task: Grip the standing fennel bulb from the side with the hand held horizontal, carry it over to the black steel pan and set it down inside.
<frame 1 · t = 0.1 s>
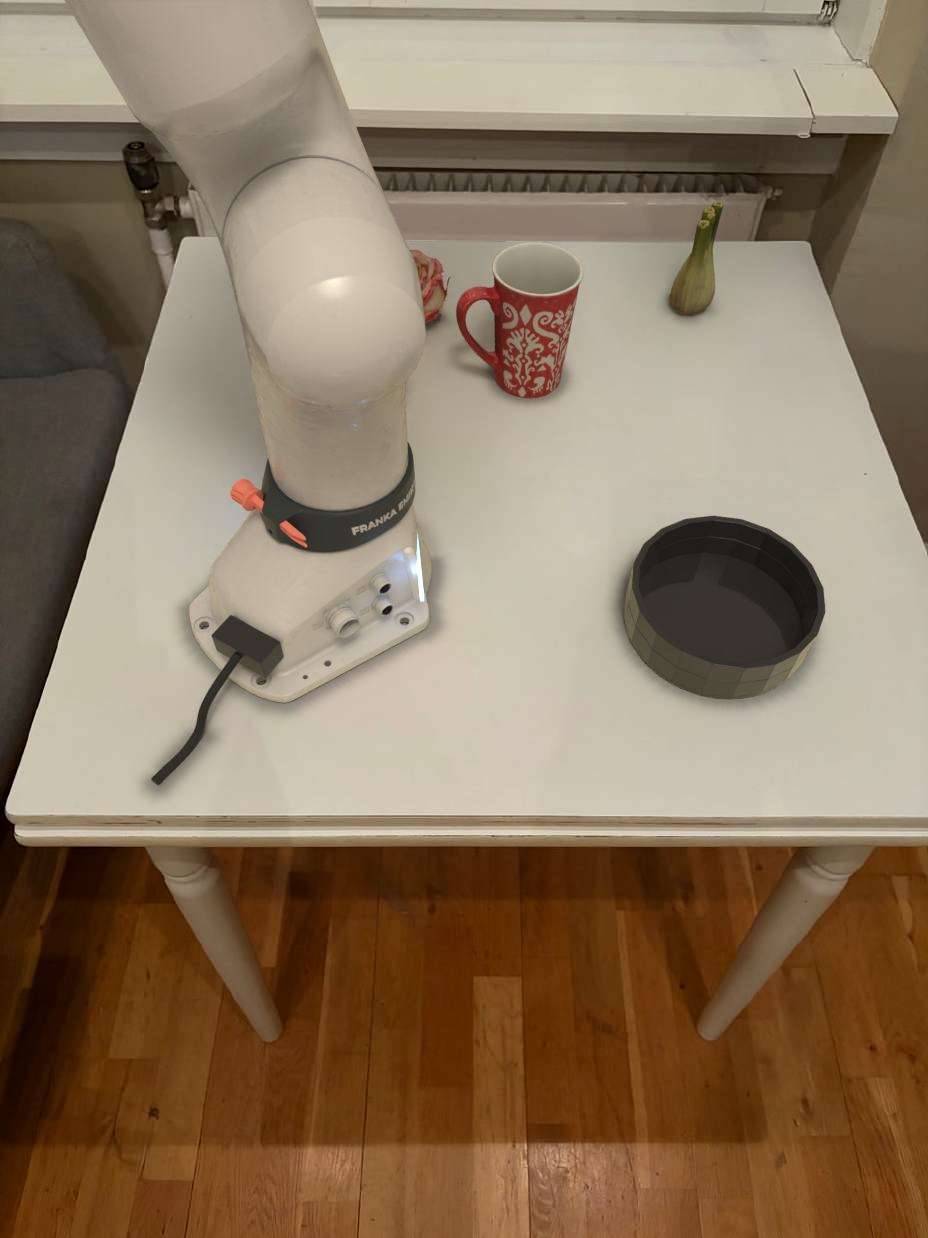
flower: (410, 327, 108), on the table, touching food
food: (372, 411, 100), on the table, touching flower
pan: (714, 621, 85), on the table
mug: (512, 379, 103), on the table
fennel bulb: (689, 308, 111), on the table
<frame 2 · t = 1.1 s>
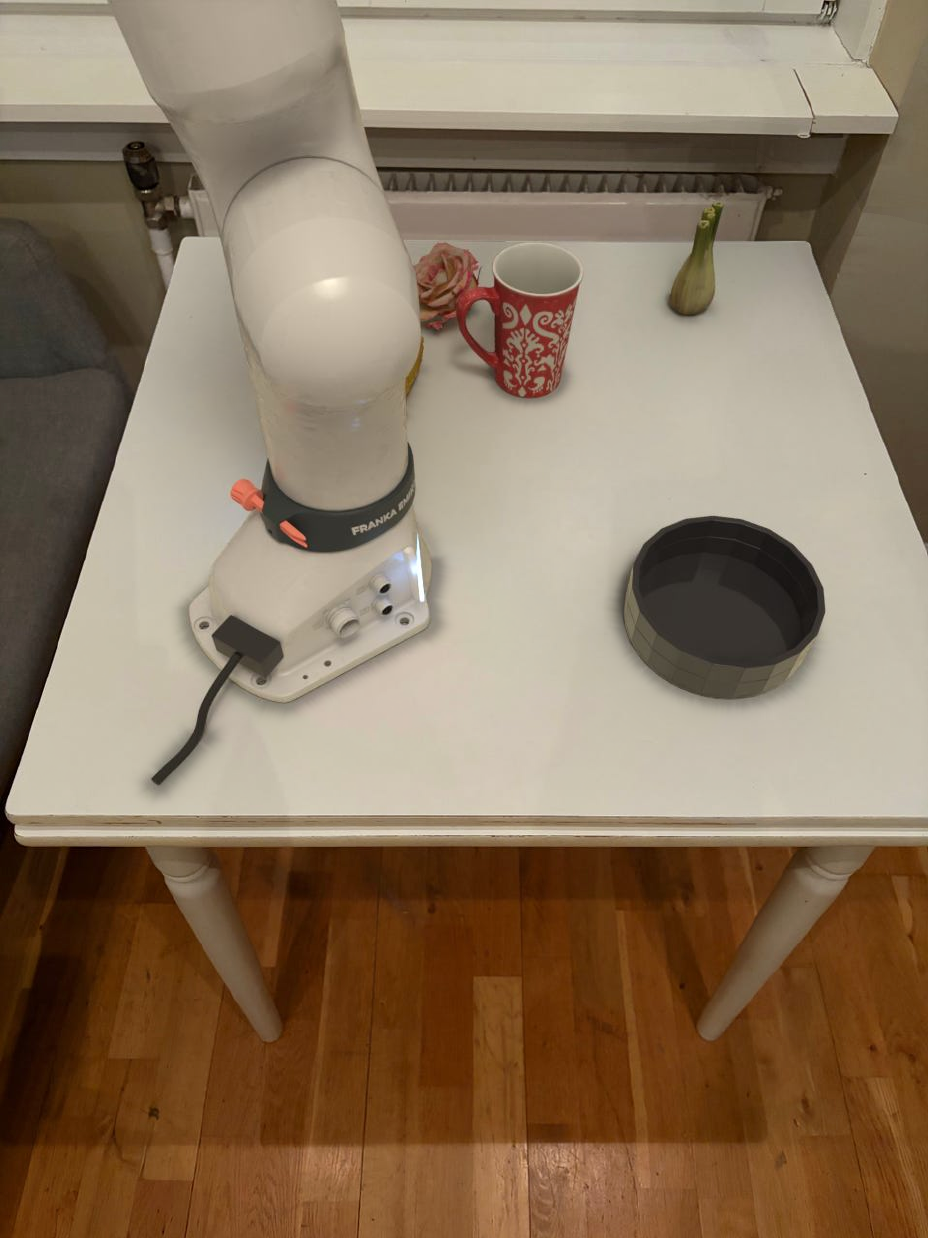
flower: (442, 319, 109), on the table
food: (379, 417, 100), on the table
everything else where it was.
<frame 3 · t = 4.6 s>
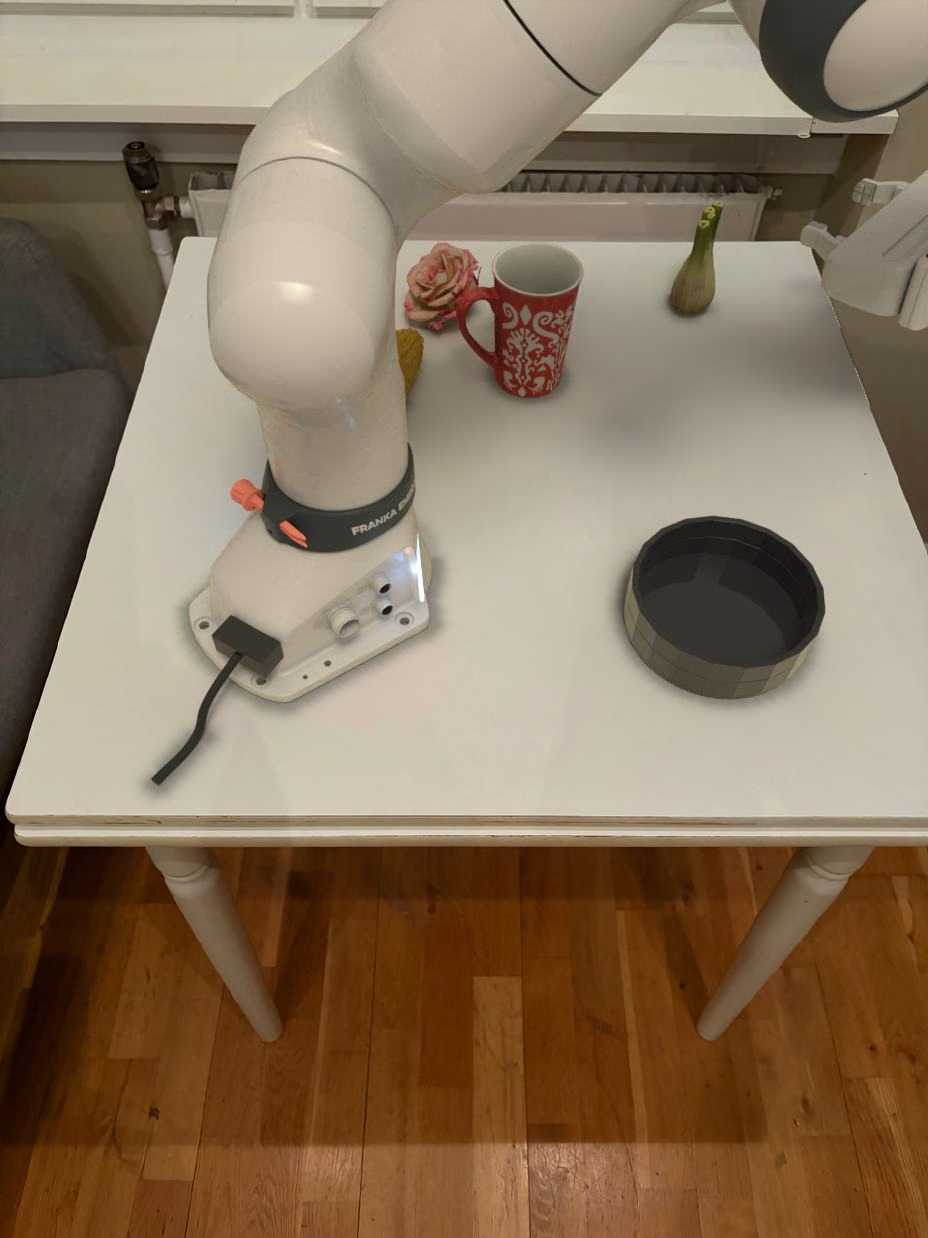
hand: (831, 209, 91), 18 cm above the table, tool horizontal, fingers open, 8 cm apart
nothing on the table moved.
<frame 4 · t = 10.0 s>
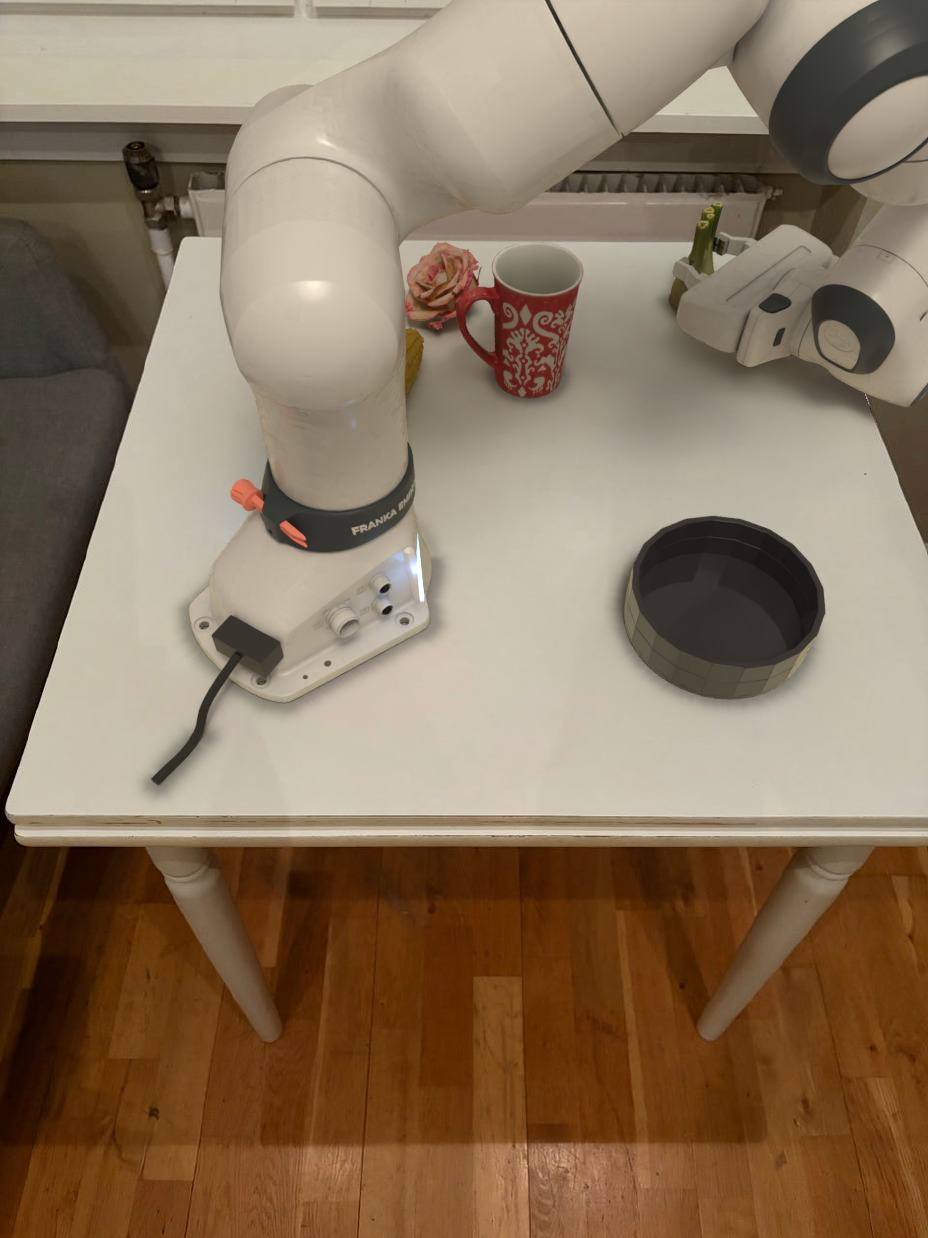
hand: (695, 252, 106), 7 cm above the table, tool horizontal, fingers closed on fennel bulb, 5 cm apart
fennel bulb: (689, 308, 111), on the table, touching gripper
everything else where it was.
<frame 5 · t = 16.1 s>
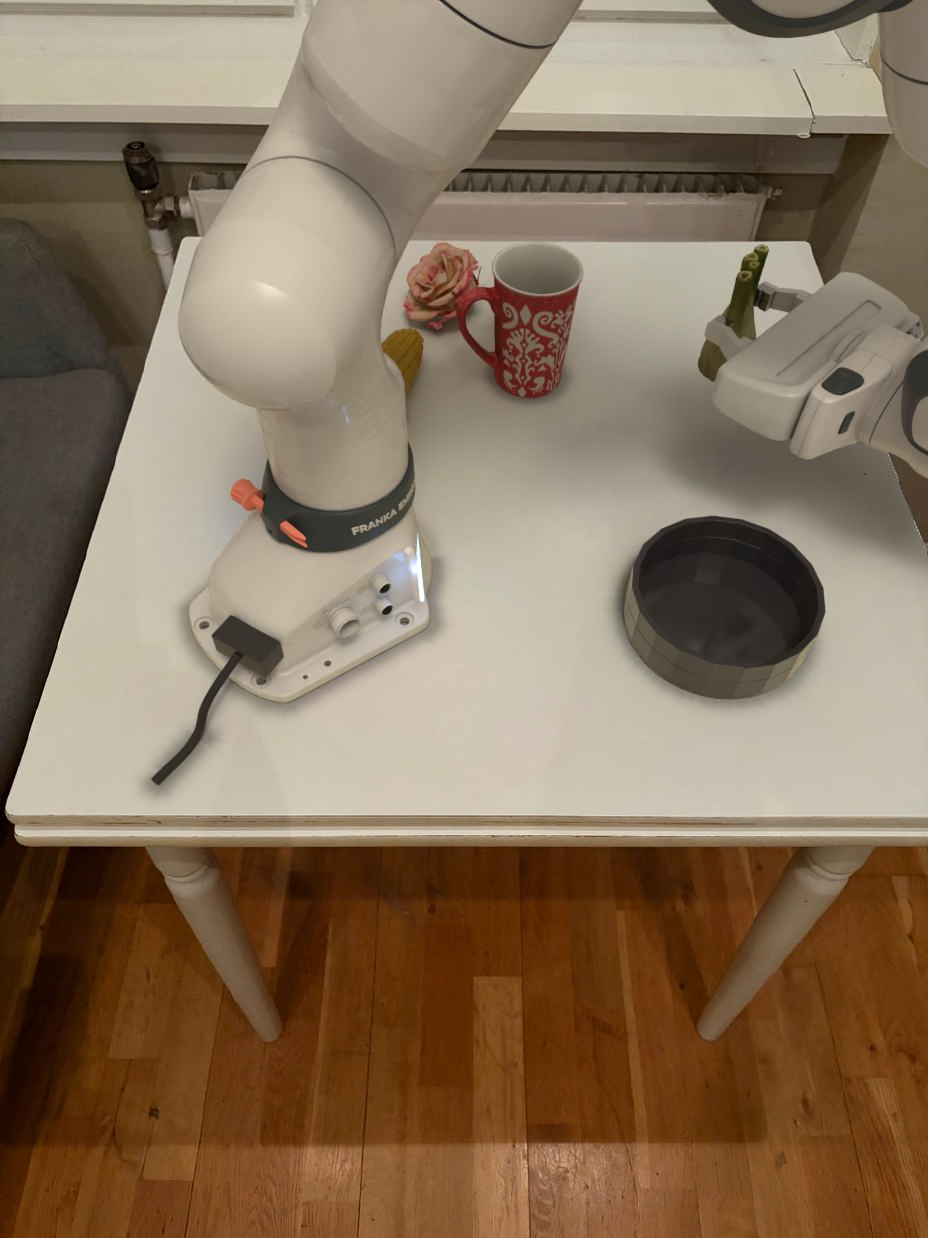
hand: (733, 308, 84), 17 cm above the table, tool horizontal, fingers closed on fennel bulb, 5 cm apart
fennel bulb: (722, 375, 89), point 10 cm above the table, touching gripper
everything else where it was.
when the fingers open (7 cm above the table, at t = 22.5 s): fennel bulb stays where it is, resting on pan.
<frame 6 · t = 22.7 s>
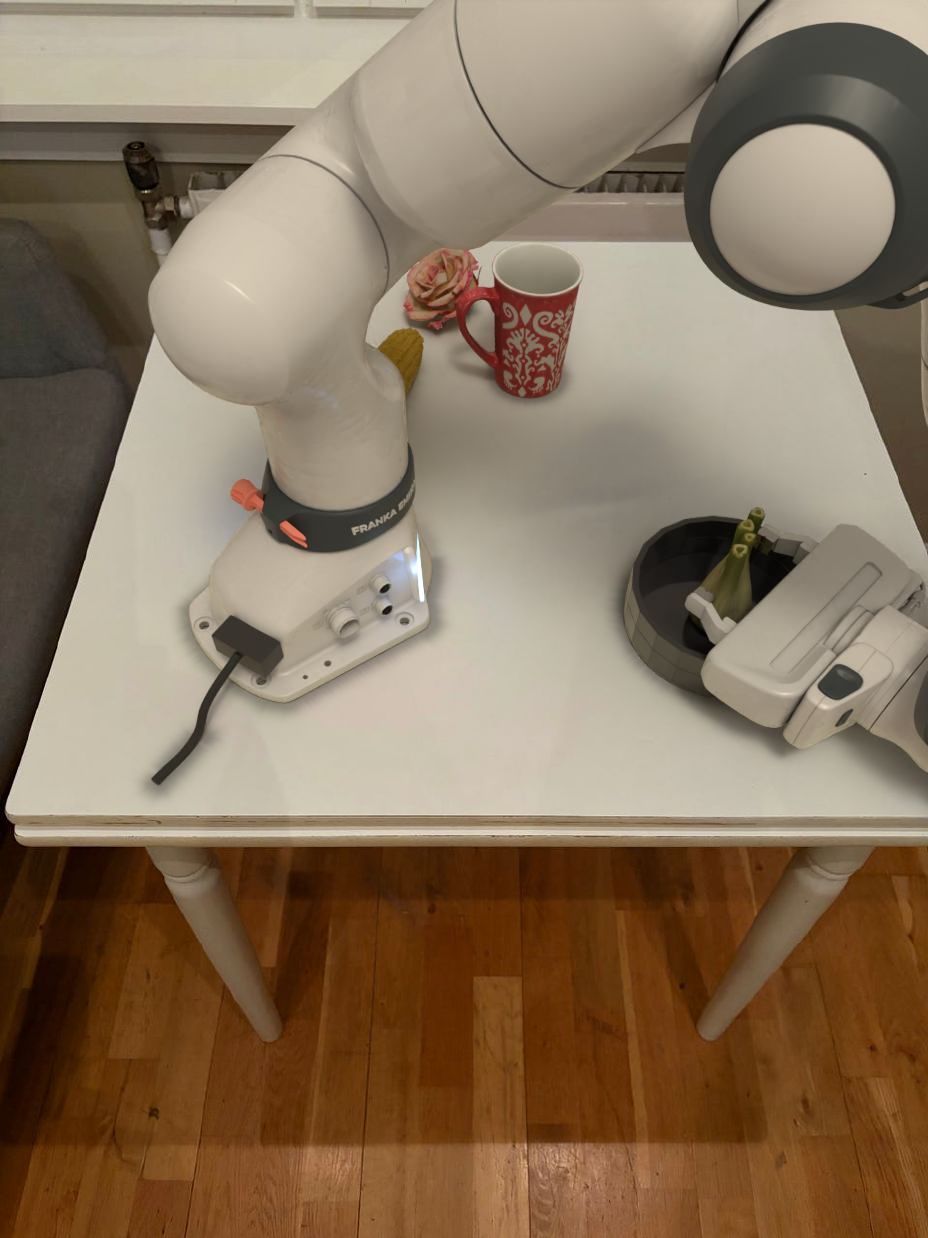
hand: (725, 563, 79), 7 cm above the table, tool horizontal, fingers open, 8 cm apart
fennel bulb: (716, 620, 84), resting on pan
everything else where it was.
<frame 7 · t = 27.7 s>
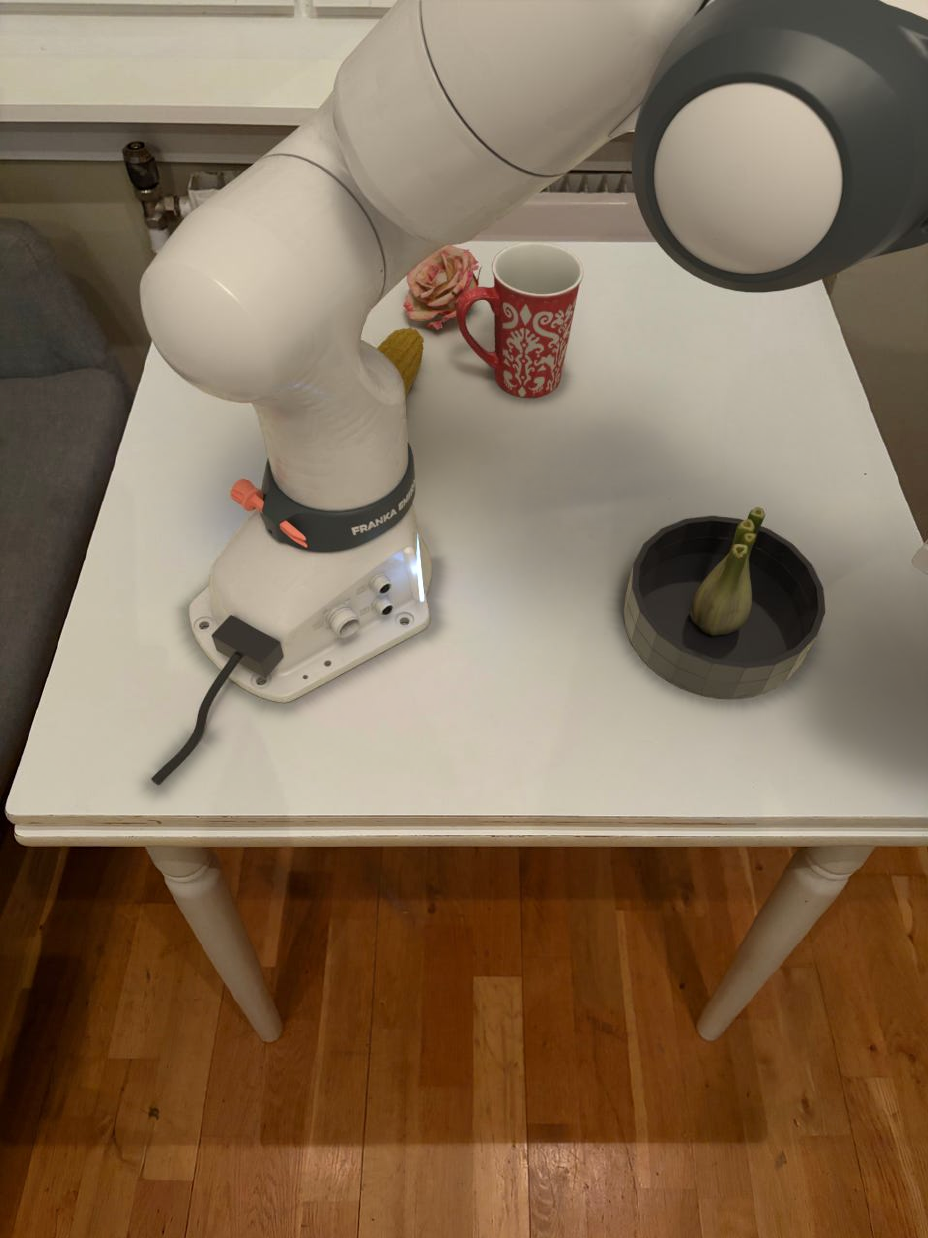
nothing on the table moved.
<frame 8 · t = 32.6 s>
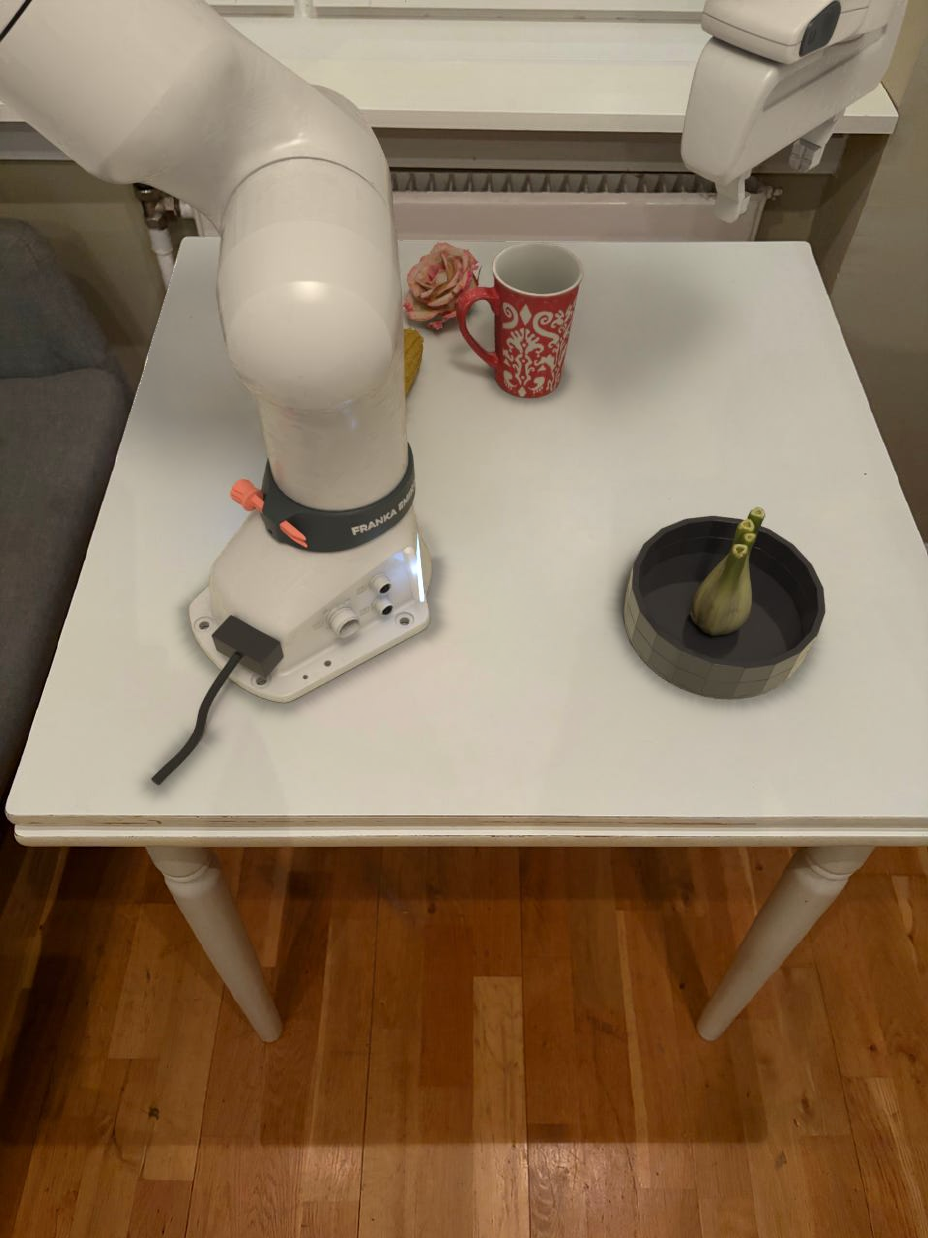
hand: (766, 190, 69), 31 cm above the table, tool pointing down, fingers open, 8 cm apart
nothing on the table moved.
at the end: fennel bulb inside the target area in the pan (0.1 cm from its centre), point 0.3 cm above the pan's base; the gripper is holding nothing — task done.
